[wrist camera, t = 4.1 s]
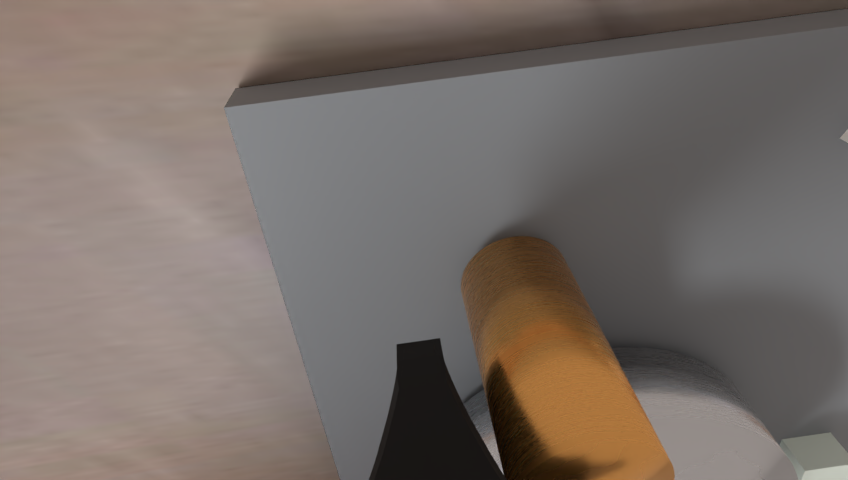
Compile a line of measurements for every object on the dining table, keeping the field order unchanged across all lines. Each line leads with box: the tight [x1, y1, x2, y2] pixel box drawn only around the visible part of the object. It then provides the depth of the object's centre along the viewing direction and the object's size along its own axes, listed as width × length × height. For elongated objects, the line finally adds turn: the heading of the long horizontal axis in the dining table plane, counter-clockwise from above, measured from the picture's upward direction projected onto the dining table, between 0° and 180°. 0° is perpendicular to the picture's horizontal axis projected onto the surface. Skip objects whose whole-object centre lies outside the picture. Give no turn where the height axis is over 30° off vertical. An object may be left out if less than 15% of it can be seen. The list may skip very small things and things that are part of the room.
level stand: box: [224, 9, 848, 480], centre depth 14 cm, size 16×15×2 cm
